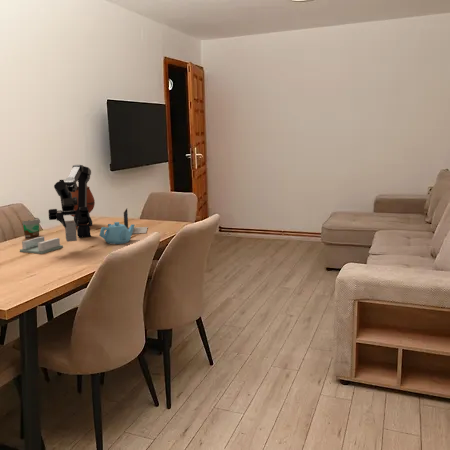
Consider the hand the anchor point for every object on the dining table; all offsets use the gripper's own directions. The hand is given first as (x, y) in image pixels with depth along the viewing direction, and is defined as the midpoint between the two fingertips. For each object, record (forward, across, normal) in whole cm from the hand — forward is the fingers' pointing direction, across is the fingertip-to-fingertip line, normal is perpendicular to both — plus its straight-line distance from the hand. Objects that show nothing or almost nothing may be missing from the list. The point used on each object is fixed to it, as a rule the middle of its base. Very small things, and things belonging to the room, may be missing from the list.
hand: (70, 227), depth 233 cm
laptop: (-18, +41, +37) cm, 58 cm away
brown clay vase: (-40, +12, +58) cm, 71 cm away
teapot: (0, +25, +18) cm, 31 cm away
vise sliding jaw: (-3, -18, +19) cm, 27 cm away
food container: (-24, -16, +43) cm, 52 cm away
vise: (+1, -14, +17) cm, 22 cm away
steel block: (+4, 0, +6) cm, 7 cm away
